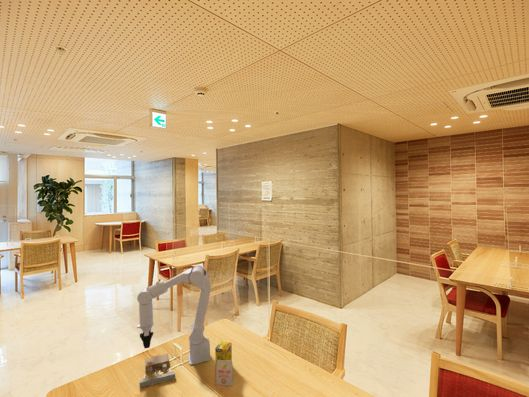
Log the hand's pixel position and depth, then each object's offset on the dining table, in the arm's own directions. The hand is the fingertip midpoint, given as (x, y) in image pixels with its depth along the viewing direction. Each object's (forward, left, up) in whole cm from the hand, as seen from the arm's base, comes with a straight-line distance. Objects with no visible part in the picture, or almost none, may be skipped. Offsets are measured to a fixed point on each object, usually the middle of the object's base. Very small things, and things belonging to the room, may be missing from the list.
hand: (147, 343), depth 128 cm
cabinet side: (-4, +14, -10) cm, 17 cm away
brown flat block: (-4, +4, -10) cm, 11 cm away
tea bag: (-30, +27, -10) cm, 41 cm away
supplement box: (-32, +18, -10) cm, 38 cm away
